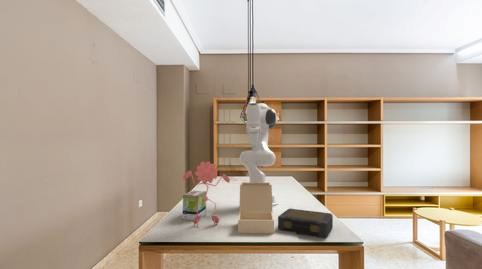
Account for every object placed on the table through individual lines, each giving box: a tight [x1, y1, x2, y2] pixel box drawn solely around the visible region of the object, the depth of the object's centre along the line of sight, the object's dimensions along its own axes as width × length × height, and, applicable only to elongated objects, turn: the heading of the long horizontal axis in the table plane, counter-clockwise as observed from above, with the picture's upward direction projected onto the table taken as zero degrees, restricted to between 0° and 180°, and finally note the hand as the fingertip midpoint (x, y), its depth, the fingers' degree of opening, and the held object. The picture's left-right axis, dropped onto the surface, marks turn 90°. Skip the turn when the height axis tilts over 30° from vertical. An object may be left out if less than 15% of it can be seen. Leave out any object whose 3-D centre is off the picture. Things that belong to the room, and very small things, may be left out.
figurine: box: [182, 161, 231, 228], centre depth 158 cm, size 15×26×35 cm, turn 95°
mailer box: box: [237, 211, 275, 234], centre depth 149 cm, size 18×16×7 cm
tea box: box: [182, 190, 207, 221], centre depth 172 cm, size 15×10×15 cm, turn 168°
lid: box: [238, 182, 273, 213], centre depth 161 cm, size 18×17×2 cm
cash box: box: [277, 208, 334, 239], centre depth 150 cm, size 25×20×8 cm
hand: (253, 152), depth 169 cm, fingers closed
